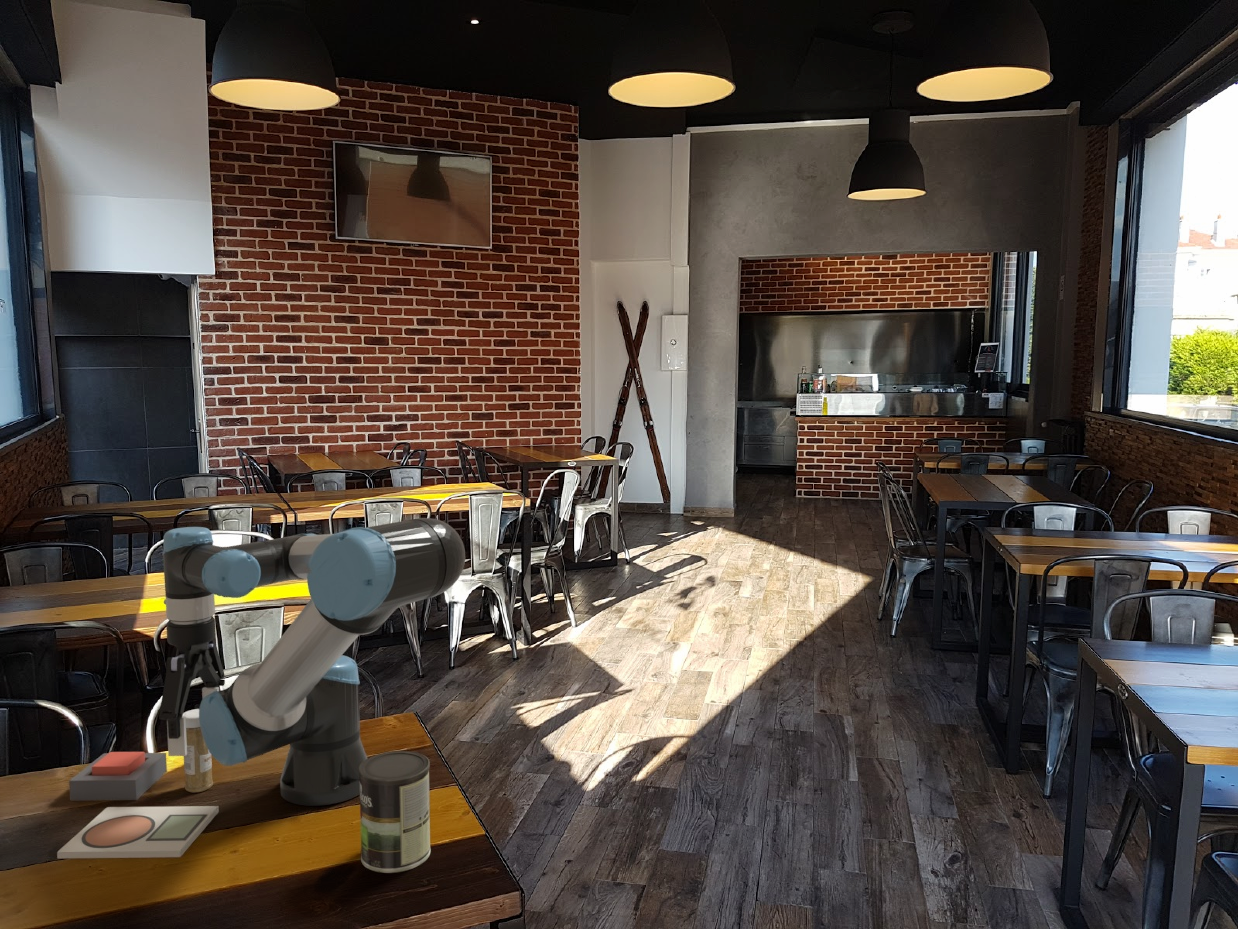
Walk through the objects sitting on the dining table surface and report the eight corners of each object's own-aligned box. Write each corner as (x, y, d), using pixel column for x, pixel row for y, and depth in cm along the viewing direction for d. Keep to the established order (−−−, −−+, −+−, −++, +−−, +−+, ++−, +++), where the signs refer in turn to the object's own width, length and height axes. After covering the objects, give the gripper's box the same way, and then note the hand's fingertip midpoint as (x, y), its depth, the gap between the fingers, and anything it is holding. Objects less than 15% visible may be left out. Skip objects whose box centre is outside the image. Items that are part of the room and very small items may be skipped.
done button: (145, 768, 163) (144, 751, 163) (128, 783, 157) (127, 766, 157) (111, 768, 163) (110, 752, 162) (92, 783, 157) (91, 766, 157)
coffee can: (365, 880, 131) (362, 785, 129) (357, 845, 140) (354, 756, 139) (437, 865, 135) (435, 773, 133) (425, 832, 144) (423, 746, 143)
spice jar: (215, 789, 159) (212, 714, 157) (186, 796, 156) (183, 719, 155) (210, 779, 163) (207, 706, 161) (182, 785, 160) (178, 711, 159)
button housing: (166, 771, 166) (165, 752, 165) (136, 800, 155) (135, 780, 154) (105, 772, 165) (103, 753, 165) (70, 800, 154) (69, 780, 154)
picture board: (218, 812, 151) (218, 805, 151) (180, 857, 137) (179, 850, 137) (107, 813, 150) (107, 806, 150) (57, 858, 136) (57, 851, 136)
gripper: (199, 599, 169) (204, 710, 171) (131, 640, 144) (137, 770, 146) (241, 599, 169) (244, 711, 171) (180, 640, 144) (185, 770, 146)
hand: (195, 738), depth 159 cm, fingers open, 13 cm apart
